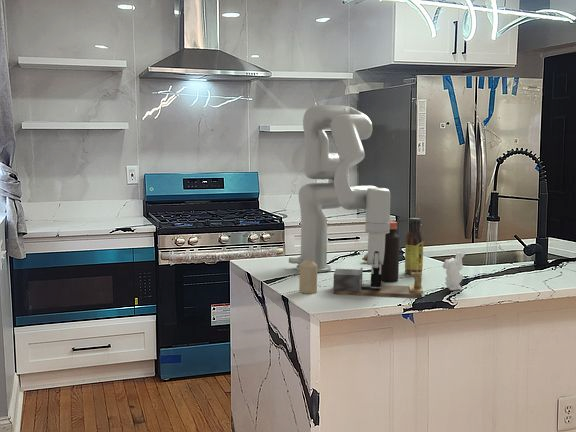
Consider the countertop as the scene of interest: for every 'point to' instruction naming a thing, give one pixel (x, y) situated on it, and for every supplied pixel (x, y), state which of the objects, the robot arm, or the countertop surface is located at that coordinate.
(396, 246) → the vinegar
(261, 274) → the countertop surface
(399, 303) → the countertop surface
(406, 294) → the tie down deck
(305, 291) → the candle
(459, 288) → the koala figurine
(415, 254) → the sauce bottle
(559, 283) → the countertop surface
